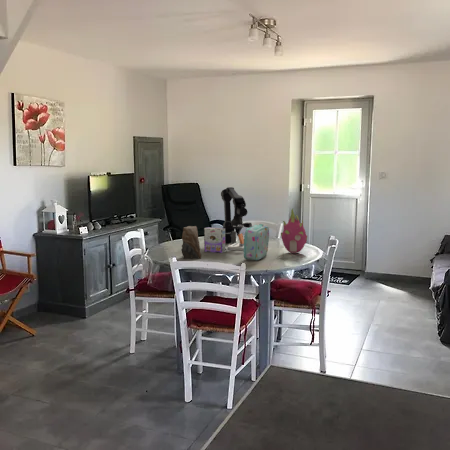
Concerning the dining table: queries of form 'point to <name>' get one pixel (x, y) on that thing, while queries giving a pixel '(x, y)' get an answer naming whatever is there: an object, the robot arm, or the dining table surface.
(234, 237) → the far post
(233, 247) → the panel
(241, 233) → the block
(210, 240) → the candy box
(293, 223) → the pink dragon fruit
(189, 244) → the owl
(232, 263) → the dining table surface
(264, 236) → the lunch box
